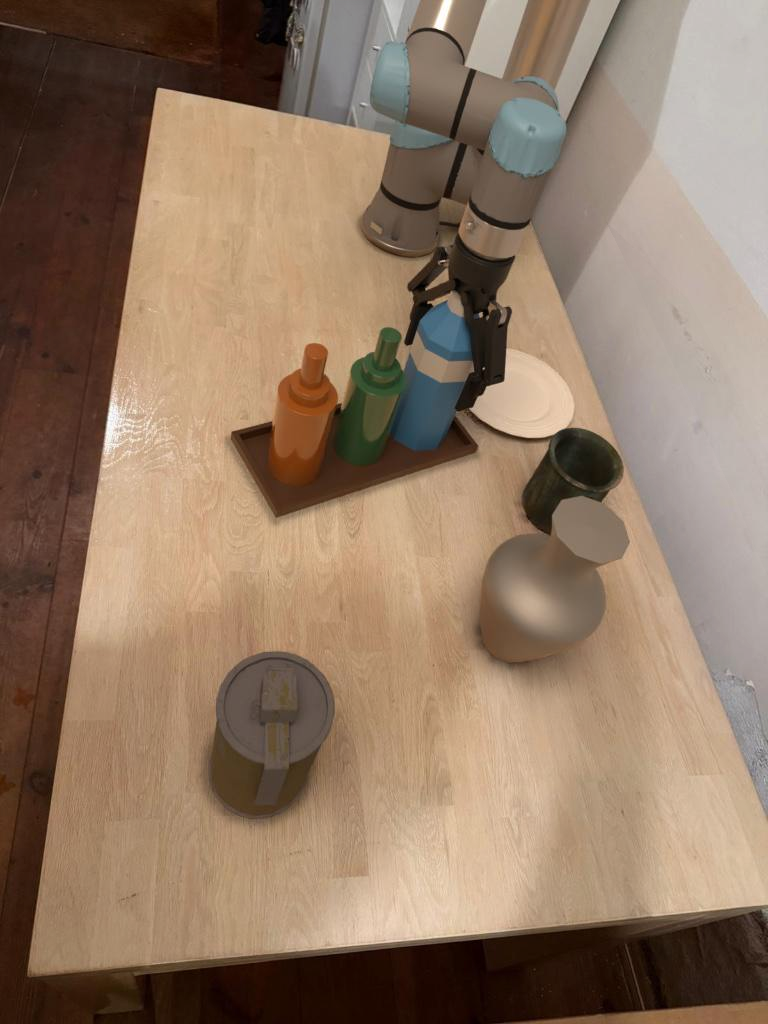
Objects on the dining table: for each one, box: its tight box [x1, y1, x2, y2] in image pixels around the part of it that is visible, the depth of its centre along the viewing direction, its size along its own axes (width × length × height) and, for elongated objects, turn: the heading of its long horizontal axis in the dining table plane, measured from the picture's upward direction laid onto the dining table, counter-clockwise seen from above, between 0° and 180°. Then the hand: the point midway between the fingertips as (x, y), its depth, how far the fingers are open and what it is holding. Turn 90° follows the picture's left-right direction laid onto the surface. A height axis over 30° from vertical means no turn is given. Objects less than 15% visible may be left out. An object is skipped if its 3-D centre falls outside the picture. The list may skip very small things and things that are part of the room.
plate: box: [467, 347, 576, 439], centre depth 123 cm, size 21×21×2 cm
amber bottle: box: [267, 342, 339, 486], centre depth 96 cm, size 8×8×21 cm
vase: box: [479, 496, 631, 664], centre depth 85 cm, size 14×14×25 cm
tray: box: [230, 402, 479, 518], centre depth 108 cm, size 34×15×2 cm, turn 121°
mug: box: [521, 427, 625, 535], centre depth 105 cm, size 11×15×12 cm
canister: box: [208, 650, 336, 820], centre depth 71 cm, size 11×10×20 cm
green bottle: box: [333, 326, 407, 466], centre depth 100 cm, size 8×8×21 cm
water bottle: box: [391, 289, 481, 451], centre depth 104 cm, size 9×9×25 cm
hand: (437, 374), depth 105 cm, fingers open, 13 cm apart
